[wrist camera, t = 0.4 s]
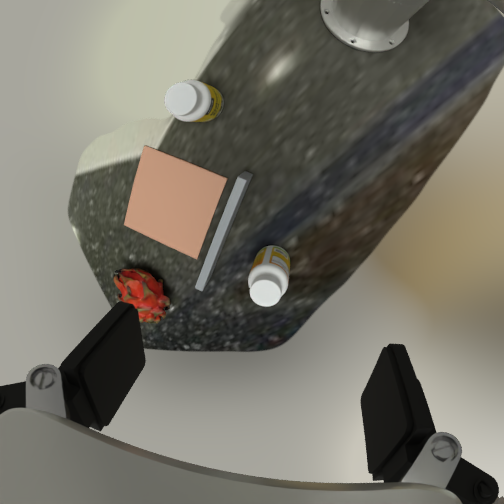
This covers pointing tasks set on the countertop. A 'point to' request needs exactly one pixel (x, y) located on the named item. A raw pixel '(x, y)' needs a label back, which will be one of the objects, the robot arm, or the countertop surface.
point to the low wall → (223, 228)
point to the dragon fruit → (142, 293)
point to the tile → (173, 201)
